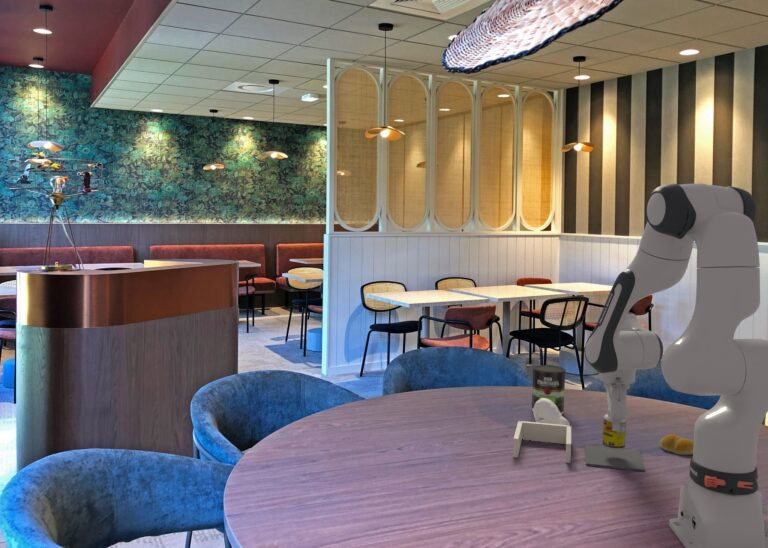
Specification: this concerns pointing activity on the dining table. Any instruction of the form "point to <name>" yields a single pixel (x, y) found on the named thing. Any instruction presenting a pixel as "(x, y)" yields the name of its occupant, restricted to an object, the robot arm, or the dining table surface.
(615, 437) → the supplement bottle
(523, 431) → the beige u-shaped bracket
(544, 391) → the coffee can
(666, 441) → the bread roll
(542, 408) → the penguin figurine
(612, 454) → the mat
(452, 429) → the dining table surface
